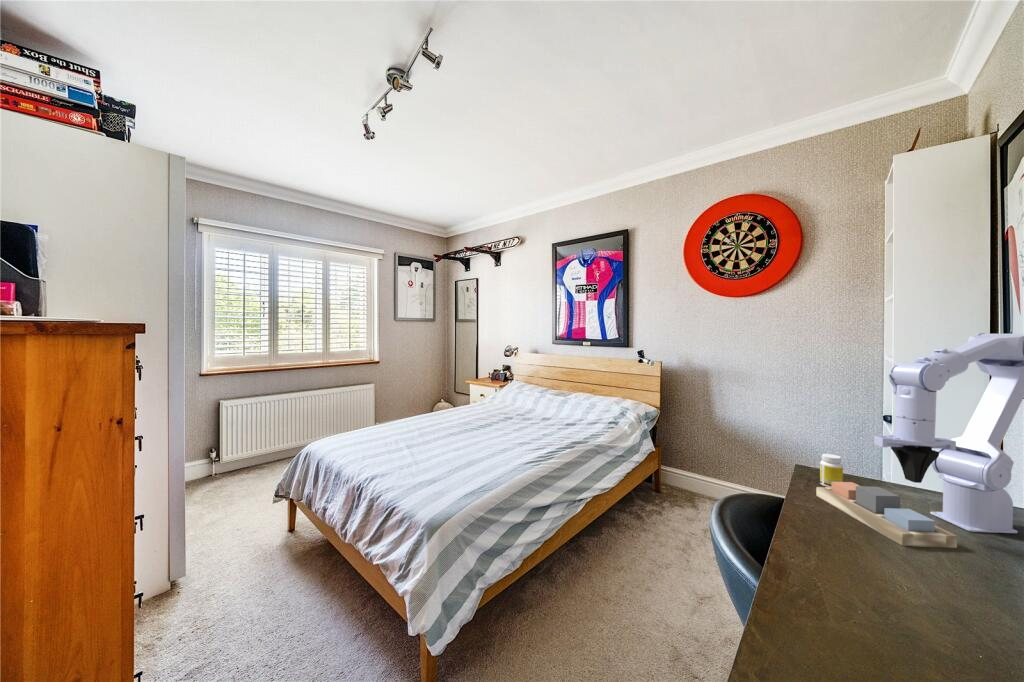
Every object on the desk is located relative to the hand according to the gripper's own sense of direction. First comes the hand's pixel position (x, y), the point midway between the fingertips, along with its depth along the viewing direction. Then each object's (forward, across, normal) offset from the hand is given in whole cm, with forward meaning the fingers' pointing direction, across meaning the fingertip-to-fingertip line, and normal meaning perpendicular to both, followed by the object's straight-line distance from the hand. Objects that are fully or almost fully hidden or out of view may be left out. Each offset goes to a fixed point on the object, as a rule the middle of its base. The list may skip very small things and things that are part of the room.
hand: (913, 480), depth 77 cm
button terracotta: (+10, +3, -11) cm, 15 cm away
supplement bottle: (+10, -1, -22) cm, 24 cm away
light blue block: (+10, +3, +3) cm, 11 cm away
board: (+10, +3, -4) cm, 12 cm away
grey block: (+8, +3, -4) cm, 10 cm away
